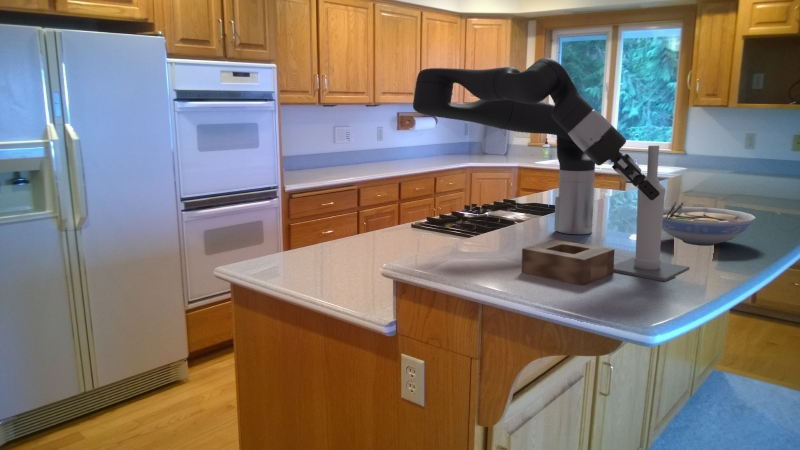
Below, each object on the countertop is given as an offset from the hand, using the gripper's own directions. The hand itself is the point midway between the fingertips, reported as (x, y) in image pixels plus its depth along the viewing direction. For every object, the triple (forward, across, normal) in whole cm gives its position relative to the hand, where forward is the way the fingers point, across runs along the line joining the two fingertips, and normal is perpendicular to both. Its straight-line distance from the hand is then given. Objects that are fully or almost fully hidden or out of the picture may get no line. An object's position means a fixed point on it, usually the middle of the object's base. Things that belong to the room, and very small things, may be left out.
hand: (653, 194), depth 117 cm
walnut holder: (0, +5, -23) cm, 23 cm away
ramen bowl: (+22, -31, 0) cm, 38 cm away
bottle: (+11, 0, -11) cm, 15 cm away
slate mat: (+11, 0, -11) cm, 16 cm away
